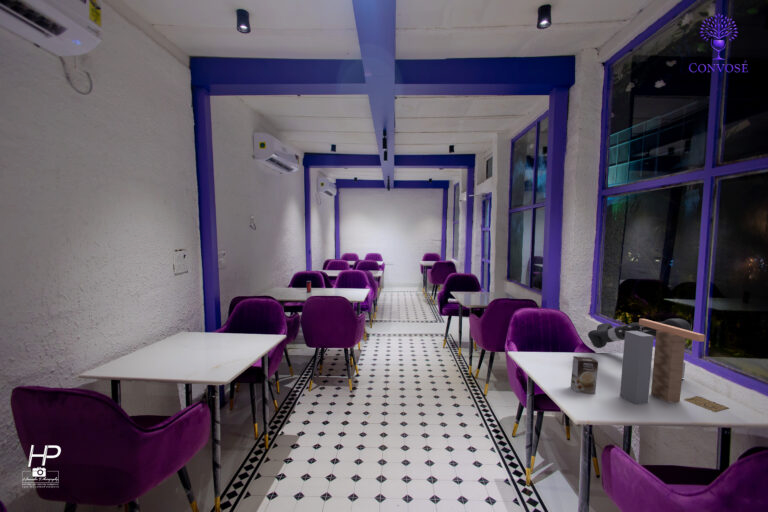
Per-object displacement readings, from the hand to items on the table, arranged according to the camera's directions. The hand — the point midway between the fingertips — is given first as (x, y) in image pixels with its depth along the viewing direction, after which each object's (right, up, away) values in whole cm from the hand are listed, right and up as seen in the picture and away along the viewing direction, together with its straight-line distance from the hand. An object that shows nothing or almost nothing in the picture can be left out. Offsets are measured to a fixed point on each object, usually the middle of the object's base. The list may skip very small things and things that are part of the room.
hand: (646, 326), depth 169 cm
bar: (+2, 0, -11) cm, 11 cm away
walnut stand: (+1, -32, -10) cm, 34 cm away
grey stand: (-17, -32, -13) cm, 38 cm away
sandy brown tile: (+16, -34, -15) cm, 40 cm away
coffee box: (-36, -31, -5) cm, 48 cm away
